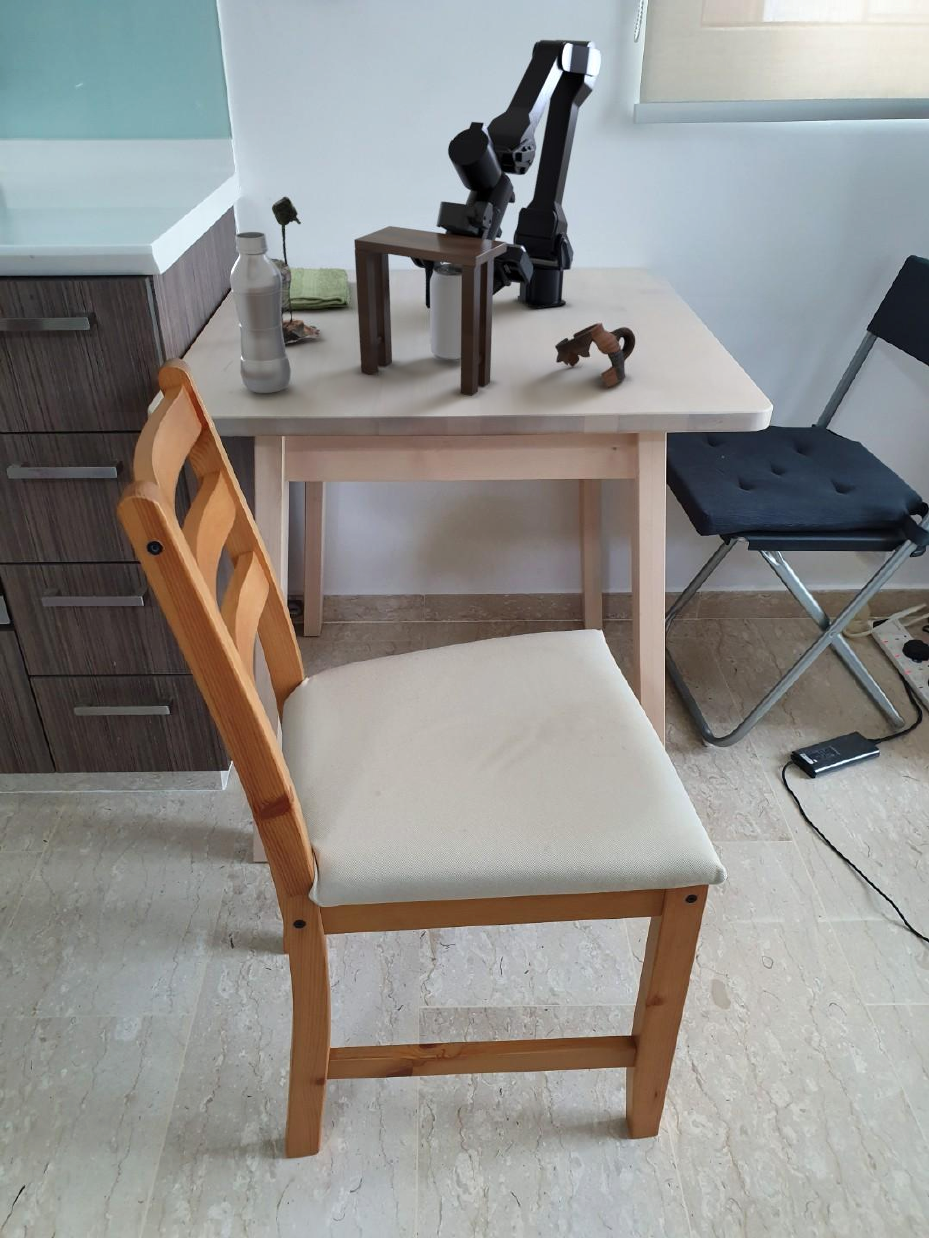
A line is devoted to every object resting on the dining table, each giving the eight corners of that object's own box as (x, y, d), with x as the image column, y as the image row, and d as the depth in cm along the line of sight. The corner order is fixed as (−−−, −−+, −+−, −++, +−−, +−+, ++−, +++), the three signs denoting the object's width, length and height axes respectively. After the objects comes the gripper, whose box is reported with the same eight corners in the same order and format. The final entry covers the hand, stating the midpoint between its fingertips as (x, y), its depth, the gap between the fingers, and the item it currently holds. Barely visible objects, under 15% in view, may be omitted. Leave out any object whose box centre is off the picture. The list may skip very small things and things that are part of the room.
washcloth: (271, 312, 154) (269, 293, 152) (279, 282, 168) (277, 264, 166) (351, 311, 155) (349, 291, 153) (351, 281, 169) (350, 263, 167)
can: (470, 362, 133) (470, 277, 126) (426, 359, 134) (424, 274, 127) (478, 347, 138) (479, 264, 131) (436, 344, 139) (435, 261, 132)
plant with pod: (250, 330, 146) (233, 194, 135) (322, 329, 147) (311, 193, 135) (244, 348, 140) (225, 206, 128) (319, 346, 140) (308, 205, 129)
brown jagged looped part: (595, 398, 126) (571, 341, 124) (560, 405, 135) (536, 352, 132) (659, 359, 130) (637, 304, 127) (621, 369, 138) (599, 317, 136)
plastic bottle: (245, 381, 128) (225, 229, 117) (294, 380, 129) (279, 229, 117) (240, 399, 123) (219, 241, 112) (291, 398, 124) (275, 241, 112)
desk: (394, 353, 138) (389, 226, 128) (502, 374, 132) (506, 242, 121) (360, 372, 132) (353, 240, 121) (472, 396, 125) (475, 257, 115)
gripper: (406, 169, 128) (368, 270, 127) (528, 182, 121) (489, 290, 120) (434, 217, 139) (399, 311, 137) (548, 232, 132) (513, 332, 130)
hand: (447, 310), depth 131 cm, fingers closed on can, 6 cm apart
